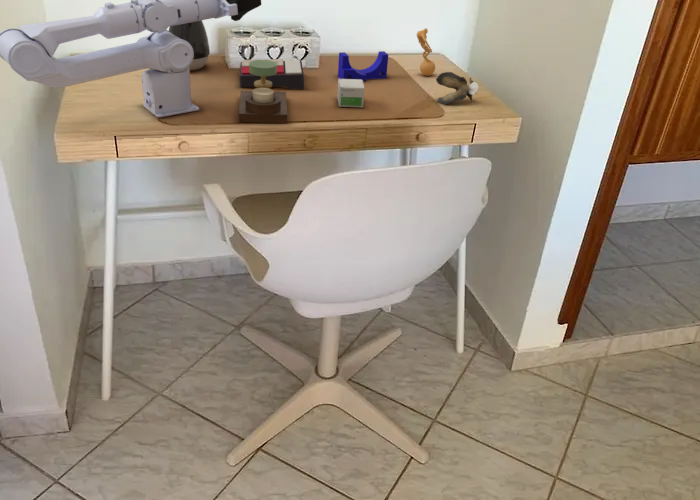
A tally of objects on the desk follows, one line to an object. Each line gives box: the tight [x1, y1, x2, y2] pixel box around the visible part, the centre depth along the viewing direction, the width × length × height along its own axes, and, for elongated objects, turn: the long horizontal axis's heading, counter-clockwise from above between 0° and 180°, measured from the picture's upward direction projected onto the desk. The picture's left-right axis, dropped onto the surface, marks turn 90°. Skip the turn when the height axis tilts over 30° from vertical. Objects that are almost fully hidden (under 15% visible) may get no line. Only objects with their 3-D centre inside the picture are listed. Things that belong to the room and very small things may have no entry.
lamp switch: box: [251, 87, 275, 103], centre depth 141 cm, size 4×4×2 cm
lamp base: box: [238, 90, 288, 124], centre depth 145 cm, size 14×10×4 cm
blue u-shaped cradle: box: [337, 50, 389, 82], centre depth 168 cm, size 12×4×6 cm, turn 108°
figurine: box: [416, 28, 436, 77], centre depth 172 cm, size 8×6×12 cm
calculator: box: [238, 58, 305, 90], centre depth 162 cm, size 11×4×15 cm
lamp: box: [249, 59, 277, 89], centre depth 147 cm, size 6×6×5 cm
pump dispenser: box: [168, 20, 211, 72], centre depth 164 cm, size 10×10×15 cm
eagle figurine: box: [435, 71, 480, 105], centre depth 159 cm, size 8×7×9 cm
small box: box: [336, 78, 365, 109], centre depth 153 cm, size 6×6×5 cm
